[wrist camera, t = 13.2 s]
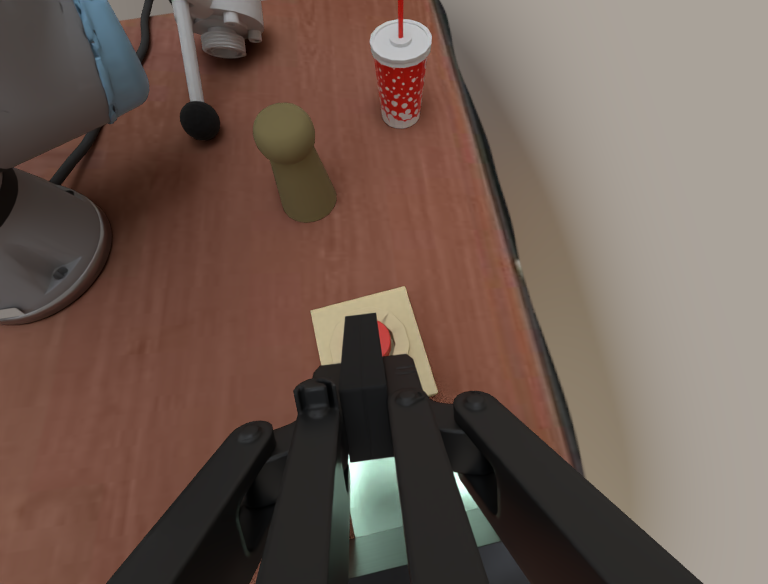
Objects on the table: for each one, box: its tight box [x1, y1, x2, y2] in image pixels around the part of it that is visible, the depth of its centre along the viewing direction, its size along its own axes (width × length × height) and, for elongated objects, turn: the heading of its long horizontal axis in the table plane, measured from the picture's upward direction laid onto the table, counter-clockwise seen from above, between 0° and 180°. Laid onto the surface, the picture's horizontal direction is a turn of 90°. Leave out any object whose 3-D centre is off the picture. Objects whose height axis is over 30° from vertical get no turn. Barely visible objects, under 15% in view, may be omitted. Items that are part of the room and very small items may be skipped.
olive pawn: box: [253, 103, 336, 223], centre depth 35 cm, size 6×6×11 cm
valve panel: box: [348, 457, 479, 538], centre depth 27 cm, size 18×18×2 cm
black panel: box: [349, 508, 530, 584], centre depth 22 cm, size 14×2×9 cm, turn 102°
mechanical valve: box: [172, 0, 264, 140], centre depth 46 cm, size 10×18×15 cm
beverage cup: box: [370, 0, 432, 128], centre depth 38 cm, size 6×6×14 cm
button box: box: [311, 286, 438, 397], centre depth 32 cm, size 10×9×4 cm
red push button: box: [377, 320, 391, 357], centre depth 30 cm, size 4×4×2 cm
